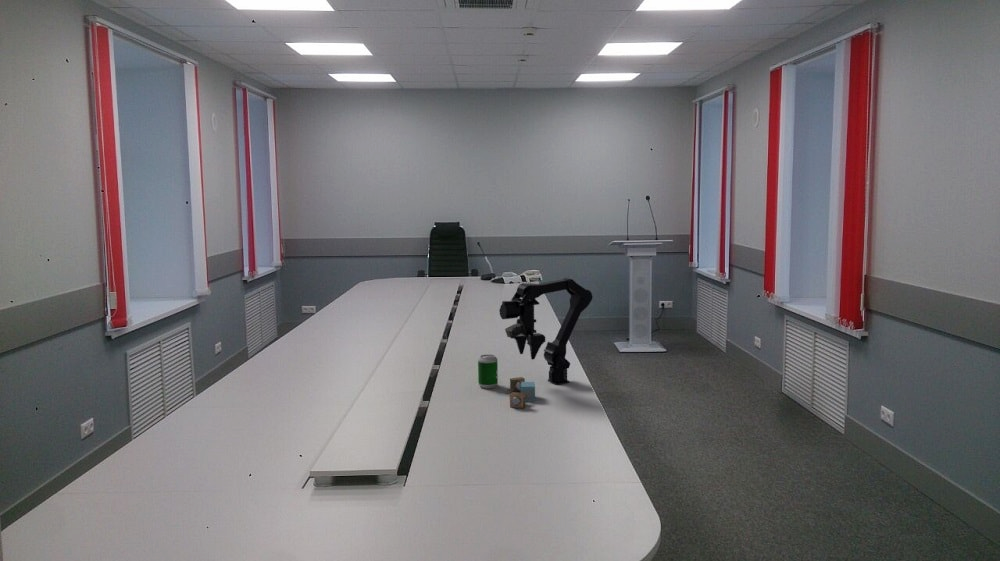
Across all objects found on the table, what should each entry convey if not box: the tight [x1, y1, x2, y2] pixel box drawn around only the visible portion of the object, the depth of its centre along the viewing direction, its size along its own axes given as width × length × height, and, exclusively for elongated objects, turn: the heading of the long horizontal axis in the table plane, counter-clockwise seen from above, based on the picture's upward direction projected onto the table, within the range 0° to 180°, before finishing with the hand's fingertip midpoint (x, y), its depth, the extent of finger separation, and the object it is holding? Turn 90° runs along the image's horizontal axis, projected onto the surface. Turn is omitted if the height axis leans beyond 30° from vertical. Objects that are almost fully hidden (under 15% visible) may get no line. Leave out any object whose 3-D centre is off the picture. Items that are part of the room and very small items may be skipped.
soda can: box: [477, 354, 499, 389], centre depth 252 cm, size 8×8×12 cm
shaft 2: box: [509, 392, 527, 410], centre depth 229 cm, size 7×5×5 cm
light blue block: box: [520, 381, 536, 402], centre depth 237 cm, size 6×5×6 cm
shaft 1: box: [509, 376, 526, 393], centre depth 245 cm, size 7×5×5 cm
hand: (527, 356), depth 249 cm, fingers open, 9 cm apart
